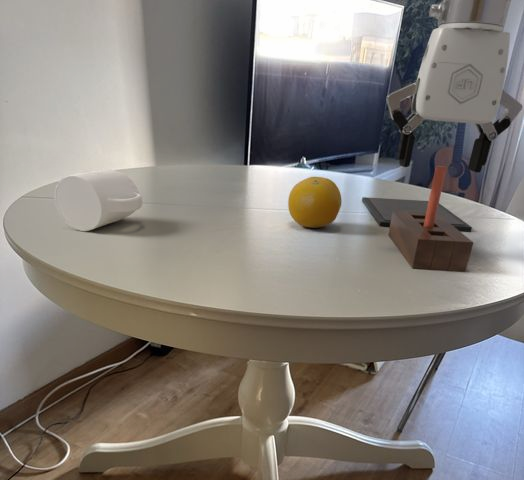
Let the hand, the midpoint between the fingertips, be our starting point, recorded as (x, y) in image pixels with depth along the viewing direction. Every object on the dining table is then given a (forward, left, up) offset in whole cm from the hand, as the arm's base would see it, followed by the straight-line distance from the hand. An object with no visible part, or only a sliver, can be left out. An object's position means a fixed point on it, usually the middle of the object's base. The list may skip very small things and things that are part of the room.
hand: (438, 168), depth 66 cm
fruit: (+16, -11, -12) cm, 23 cm away
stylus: (0, 0, -12) cm, 12 cm away
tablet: (-4, -25, -12) cm, 28 cm away
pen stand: (0, 0, -12) cm, 12 cm away
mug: (+49, -4, -12) cm, 50 cm away
